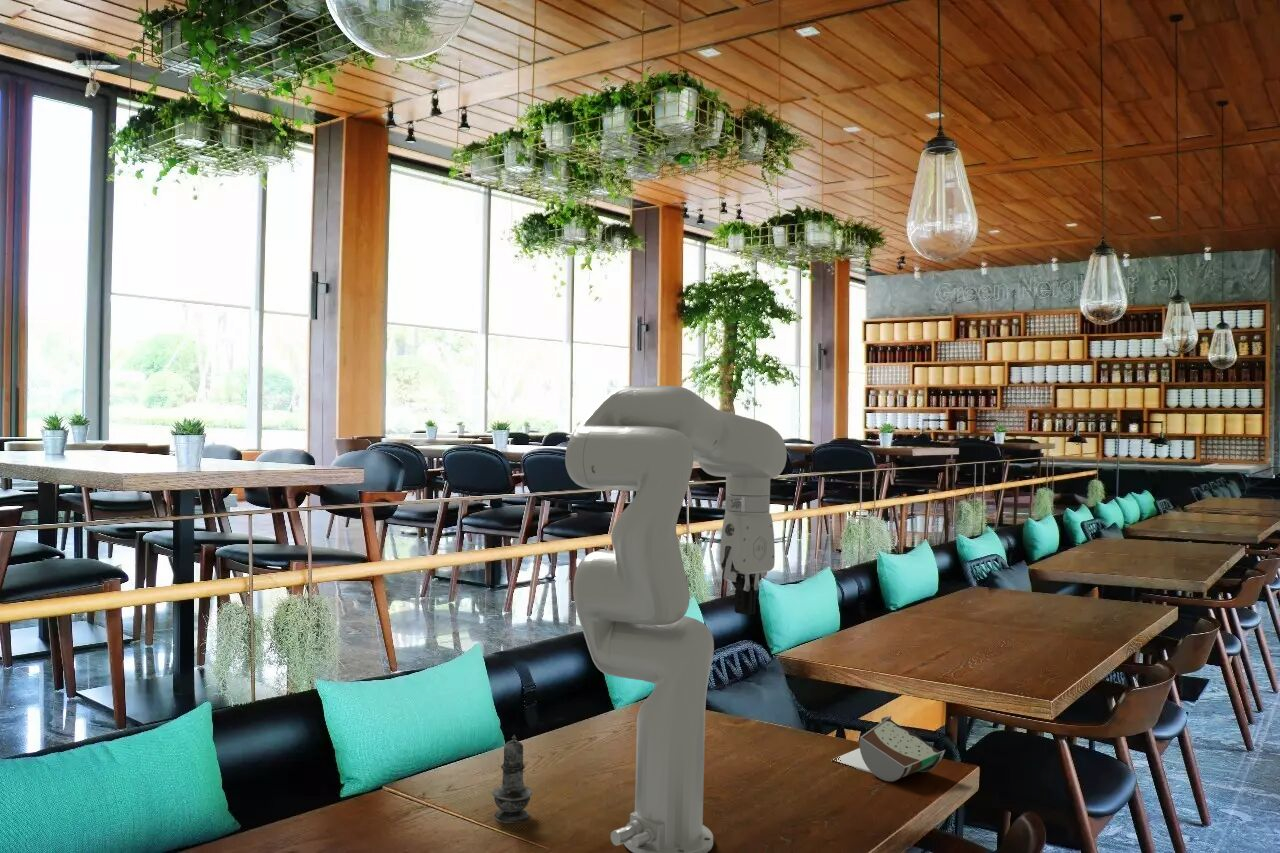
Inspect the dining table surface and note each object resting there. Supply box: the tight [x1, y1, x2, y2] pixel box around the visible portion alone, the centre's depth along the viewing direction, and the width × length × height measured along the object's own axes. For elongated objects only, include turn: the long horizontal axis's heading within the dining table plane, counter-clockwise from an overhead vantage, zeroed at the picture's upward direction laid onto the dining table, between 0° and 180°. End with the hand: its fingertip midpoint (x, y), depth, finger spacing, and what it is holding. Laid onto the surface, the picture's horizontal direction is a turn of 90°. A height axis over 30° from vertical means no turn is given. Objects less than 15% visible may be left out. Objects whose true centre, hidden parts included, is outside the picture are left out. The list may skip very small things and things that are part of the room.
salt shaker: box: [492, 734, 533, 824], centre depth 139 cm, size 6×6×12 cm
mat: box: [832, 747, 873, 774], centre depth 166 cm, size 10×11×1 cm
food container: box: [858, 715, 946, 782], centre depth 161 cm, size 12×6×10 cm
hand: (744, 613), depth 160 cm, fingers closed
